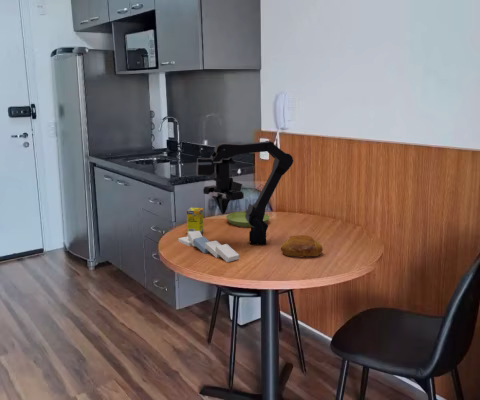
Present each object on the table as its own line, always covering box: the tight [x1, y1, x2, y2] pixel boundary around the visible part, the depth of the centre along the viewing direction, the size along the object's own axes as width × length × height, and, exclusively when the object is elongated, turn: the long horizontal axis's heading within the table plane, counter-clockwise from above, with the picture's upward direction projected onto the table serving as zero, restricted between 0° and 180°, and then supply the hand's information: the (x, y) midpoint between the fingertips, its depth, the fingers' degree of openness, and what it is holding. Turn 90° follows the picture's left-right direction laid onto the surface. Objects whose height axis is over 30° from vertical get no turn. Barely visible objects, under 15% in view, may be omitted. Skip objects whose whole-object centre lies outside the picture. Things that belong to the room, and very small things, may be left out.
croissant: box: [280, 234, 324, 258], centre depth 186 cm, size 14×16×8 cm
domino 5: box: [215, 243, 240, 263], centre depth 179 cm, size 2×5×8 cm
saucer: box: [225, 210, 270, 228], centre depth 230 cm, size 21×21×3 cm
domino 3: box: [193, 236, 211, 254], centre depth 189 cm, size 2×5×8 cm
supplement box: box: [186, 207, 204, 235], centre depth 211 cm, size 6×6×11 cm
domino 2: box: [186, 231, 204, 248], centre depth 196 cm, size 2×5×8 cm
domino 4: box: [205, 240, 222, 259], centre depth 184 cm, size 2×5×8 cm
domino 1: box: [177, 235, 193, 247], centre depth 199 cm, size 2×5×8 cm
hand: (223, 213), depth 193 cm, fingers closed
